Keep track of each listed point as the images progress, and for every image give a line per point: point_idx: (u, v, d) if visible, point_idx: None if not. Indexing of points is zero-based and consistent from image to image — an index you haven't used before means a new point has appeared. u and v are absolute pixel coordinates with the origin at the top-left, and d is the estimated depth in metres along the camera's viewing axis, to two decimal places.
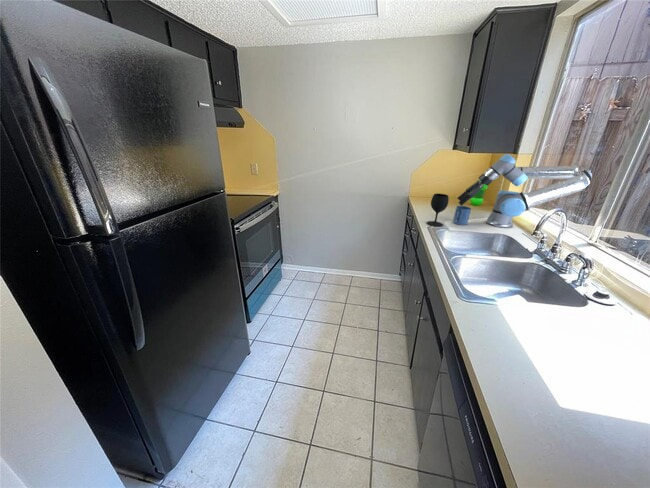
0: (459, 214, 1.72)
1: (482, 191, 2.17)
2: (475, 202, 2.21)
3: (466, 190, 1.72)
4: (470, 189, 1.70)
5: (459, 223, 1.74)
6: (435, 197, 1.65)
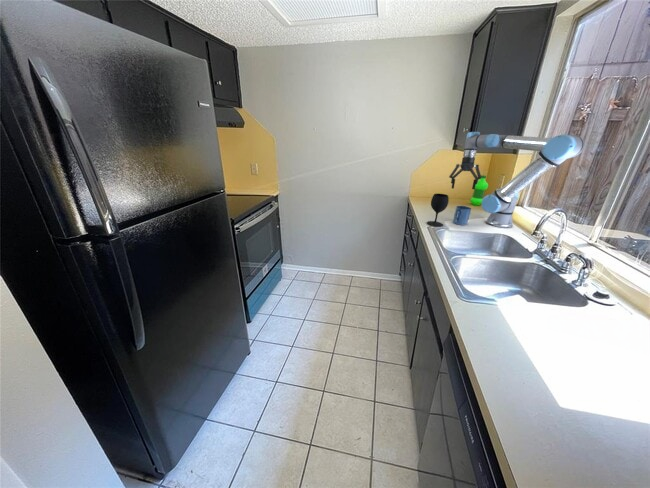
0: (459, 214, 1.72)
1: (482, 191, 2.17)
2: (475, 202, 2.21)
3: None
4: (473, 175, 1.77)
5: (459, 223, 1.74)
6: (435, 197, 1.65)
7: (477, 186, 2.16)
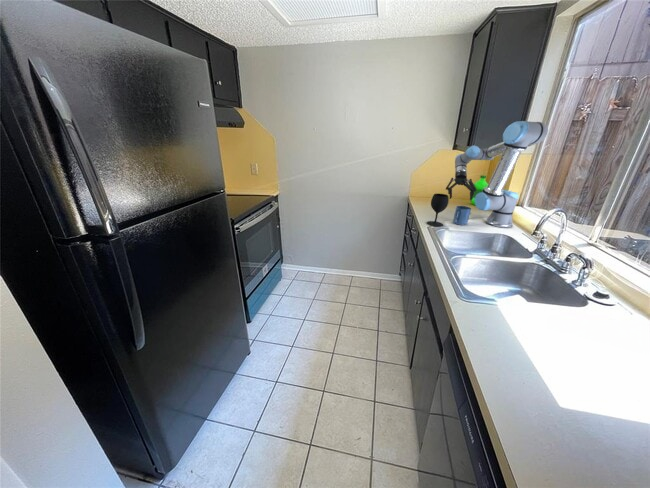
0: (459, 214, 1.72)
1: None
2: None
3: None
4: (468, 188, 1.84)
5: (459, 223, 1.74)
6: (435, 197, 1.65)
7: (477, 186, 2.16)
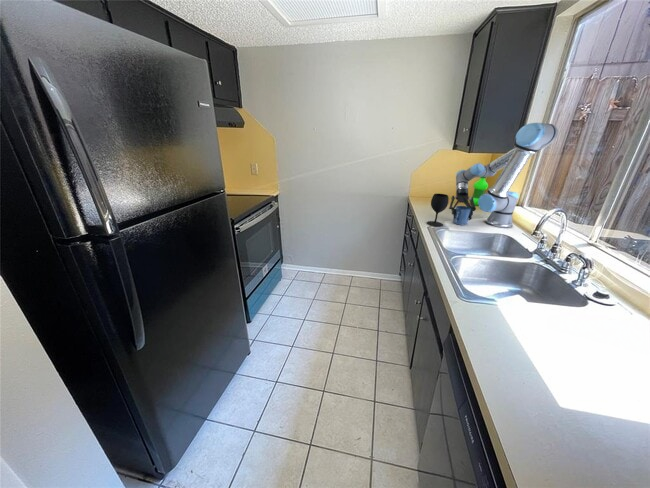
0: (459, 214, 1.72)
1: (482, 191, 2.17)
2: (475, 202, 2.21)
3: None
4: (468, 206, 1.77)
5: (459, 223, 1.74)
6: (435, 197, 1.65)
7: (477, 186, 2.16)
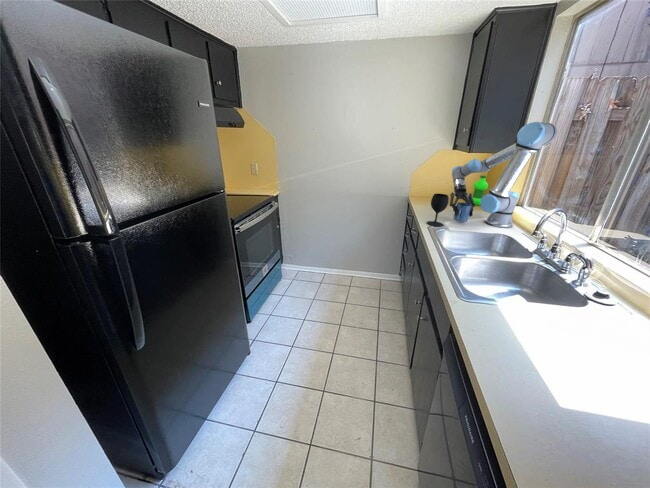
0: (461, 211, 1.72)
1: (482, 191, 2.17)
2: (475, 202, 2.21)
3: None
4: None
5: (461, 220, 1.74)
6: (435, 197, 1.65)
7: (477, 186, 2.16)
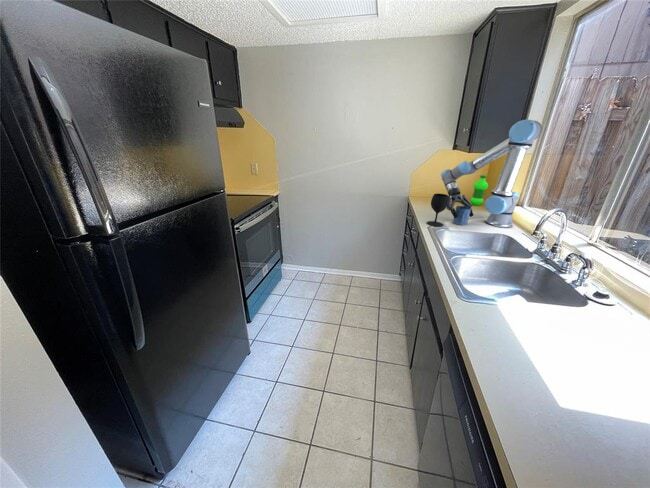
0: None
1: (482, 191, 2.17)
2: (475, 202, 2.21)
3: None
4: (464, 204, 1.79)
5: (463, 223, 1.74)
6: (435, 197, 1.65)
7: (477, 186, 2.16)
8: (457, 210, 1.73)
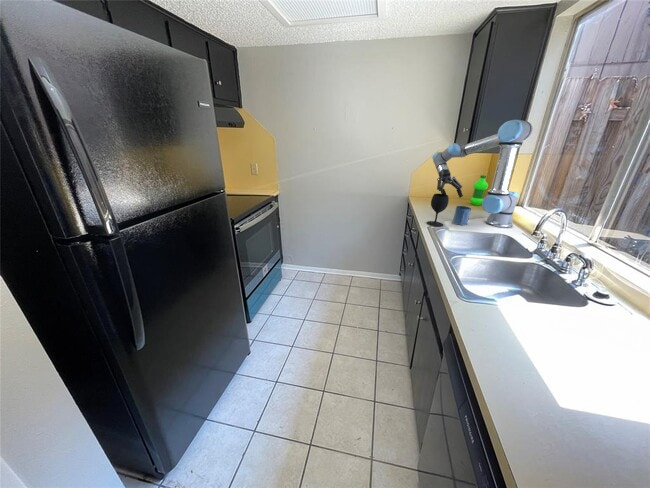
0: None
1: (482, 191, 2.17)
2: (475, 202, 2.21)
3: None
4: (454, 185, 1.86)
5: (463, 223, 1.74)
6: (435, 197, 1.65)
7: (477, 186, 2.16)
8: (457, 210, 1.73)
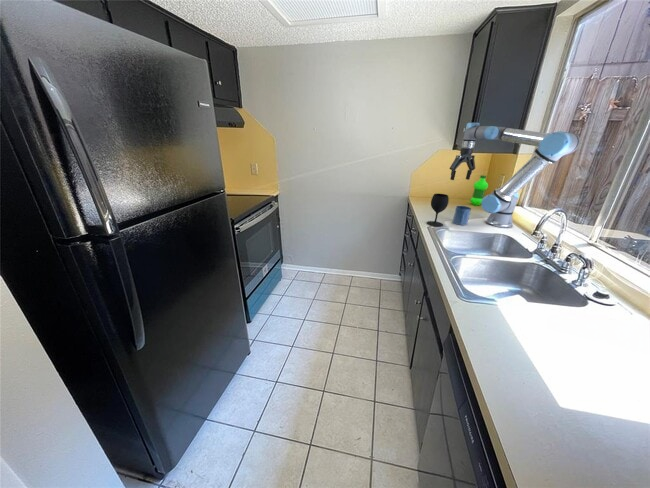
0: None
1: (482, 191, 2.17)
2: (475, 202, 2.21)
3: None
4: (468, 165, 1.80)
5: (463, 223, 1.74)
6: (435, 197, 1.65)
7: (477, 186, 2.16)
8: (457, 210, 1.73)
